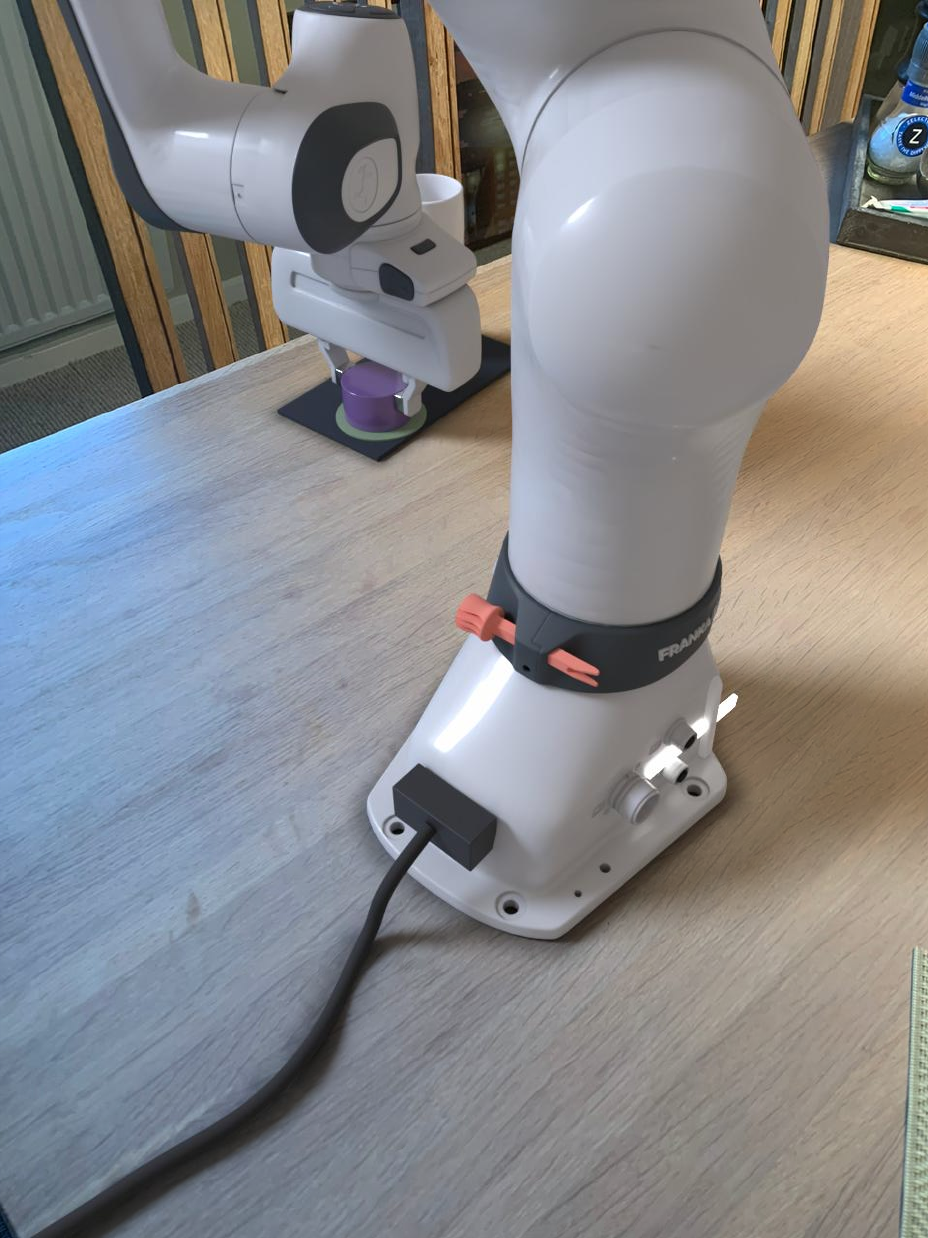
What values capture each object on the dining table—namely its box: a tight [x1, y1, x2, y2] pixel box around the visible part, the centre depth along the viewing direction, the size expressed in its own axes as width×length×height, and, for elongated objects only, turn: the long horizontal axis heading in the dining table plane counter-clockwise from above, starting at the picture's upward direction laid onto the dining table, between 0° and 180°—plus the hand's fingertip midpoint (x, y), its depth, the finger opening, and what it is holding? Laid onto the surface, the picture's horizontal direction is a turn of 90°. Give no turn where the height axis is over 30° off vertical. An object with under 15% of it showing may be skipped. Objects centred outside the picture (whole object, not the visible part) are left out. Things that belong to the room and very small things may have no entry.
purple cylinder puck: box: [341, 361, 411, 433], centre depth 86 cm, size 6×6×4 cm
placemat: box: [276, 333, 511, 462], centre depth 92 cm, size 22×13×1 cm, turn 142°
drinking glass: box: [416, 173, 466, 246], centre depth 91 cm, size 7×7×15 cm
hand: (376, 397), depth 86 cm, fingers closed on purple cylinder puck, 6 cm apart
